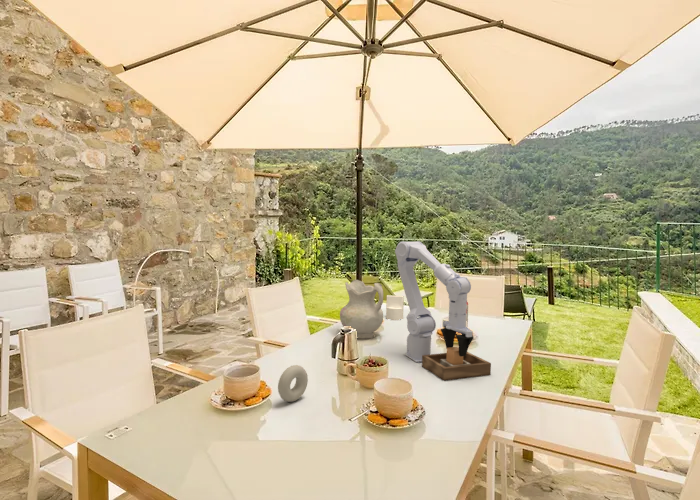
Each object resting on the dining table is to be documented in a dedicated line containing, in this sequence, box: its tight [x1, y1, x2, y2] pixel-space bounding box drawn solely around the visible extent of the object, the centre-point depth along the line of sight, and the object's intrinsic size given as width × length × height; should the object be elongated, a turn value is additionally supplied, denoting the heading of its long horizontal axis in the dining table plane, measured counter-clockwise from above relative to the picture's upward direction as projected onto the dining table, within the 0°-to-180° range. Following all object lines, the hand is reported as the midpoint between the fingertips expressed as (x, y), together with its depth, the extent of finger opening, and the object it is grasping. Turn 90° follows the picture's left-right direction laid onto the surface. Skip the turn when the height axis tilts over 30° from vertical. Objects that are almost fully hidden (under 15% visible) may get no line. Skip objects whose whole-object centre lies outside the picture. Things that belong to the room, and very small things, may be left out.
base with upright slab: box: [385, 294, 405, 321], centre depth 219 cm, size 9×9×12 cm
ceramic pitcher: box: [339, 279, 384, 340], centre depth 183 cm, size 22×20×25 cm
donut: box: [277, 364, 309, 403], centre depth 115 cm, size 10×4×10 cm, turn 140°
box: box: [421, 351, 492, 382], centre depth 142 cm, size 14×18×4 cm
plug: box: [446, 346, 463, 365], centre depth 141 cm, size 4×4×7 cm
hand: (455, 352), depth 141 cm, fingers open, 7 cm apart
